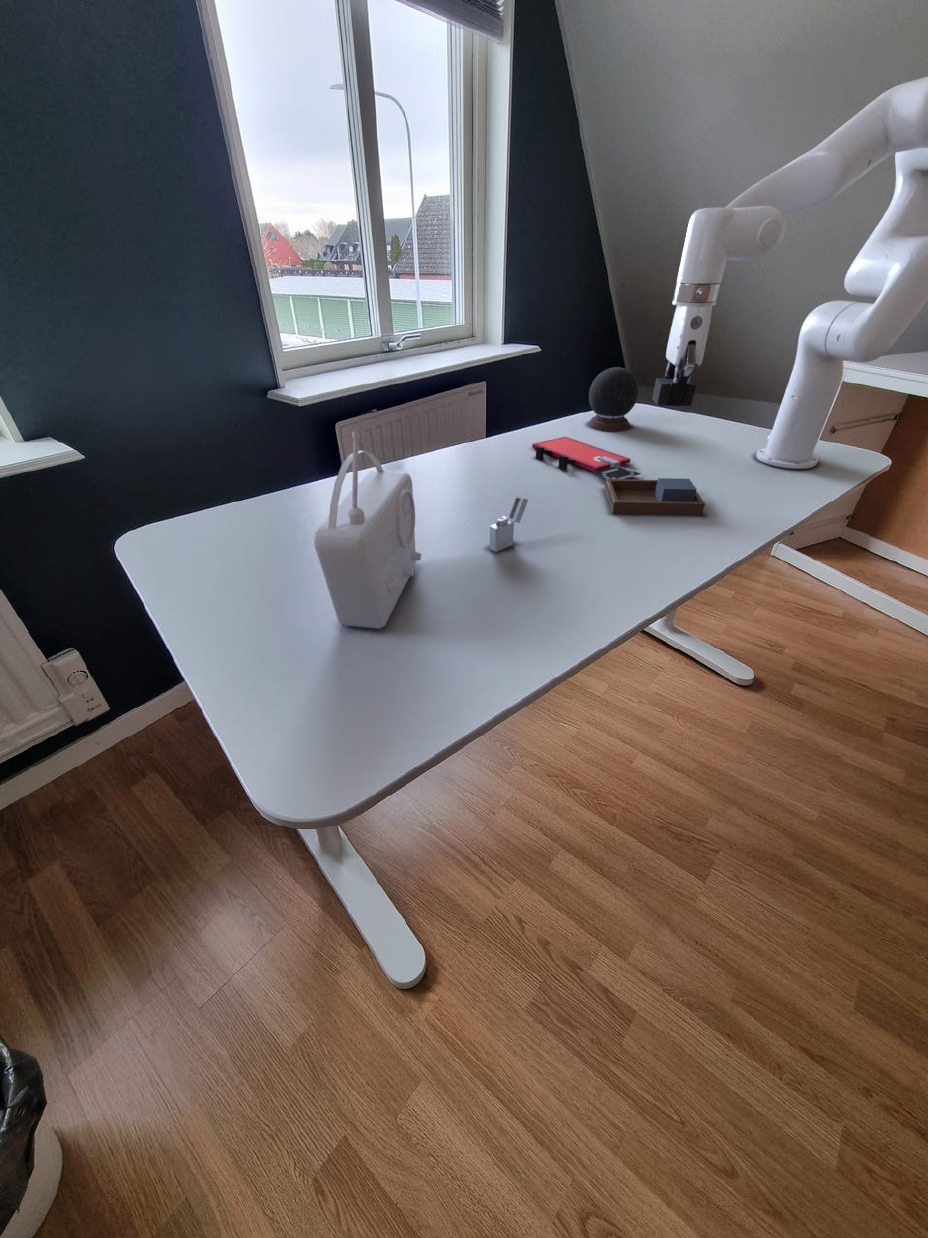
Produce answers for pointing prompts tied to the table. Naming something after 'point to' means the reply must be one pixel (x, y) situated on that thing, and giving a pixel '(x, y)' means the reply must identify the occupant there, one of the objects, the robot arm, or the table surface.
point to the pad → (675, 490)
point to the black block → (664, 387)
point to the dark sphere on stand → (612, 399)
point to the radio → (368, 543)
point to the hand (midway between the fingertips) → (671, 399)
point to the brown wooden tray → (646, 499)
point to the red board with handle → (585, 457)
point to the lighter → (506, 526)
